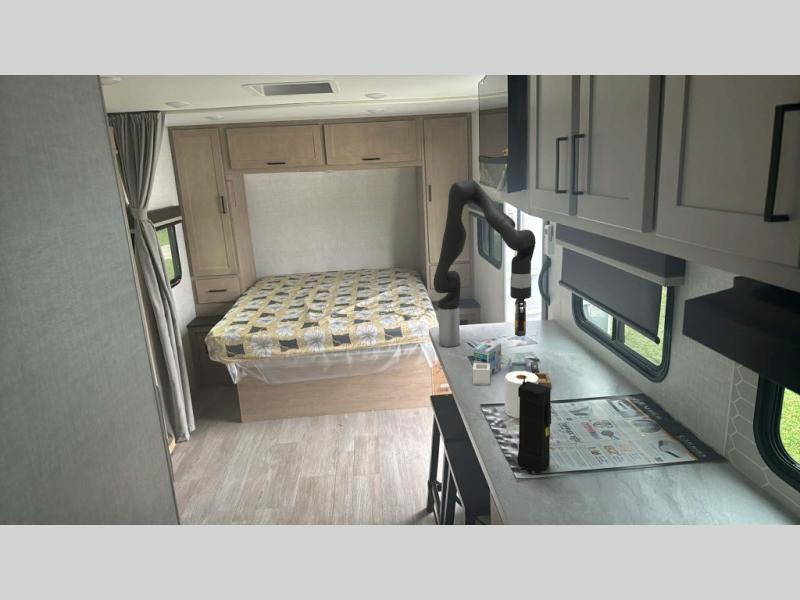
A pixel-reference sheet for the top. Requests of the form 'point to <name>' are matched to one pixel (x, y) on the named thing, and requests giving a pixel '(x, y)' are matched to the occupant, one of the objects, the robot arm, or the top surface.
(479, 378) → the pot
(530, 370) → the tray
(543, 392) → the portable radio
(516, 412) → the toilet paper
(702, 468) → the top surface
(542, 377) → the trough
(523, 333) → the cell
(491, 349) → the light bulb box
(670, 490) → the top surface
